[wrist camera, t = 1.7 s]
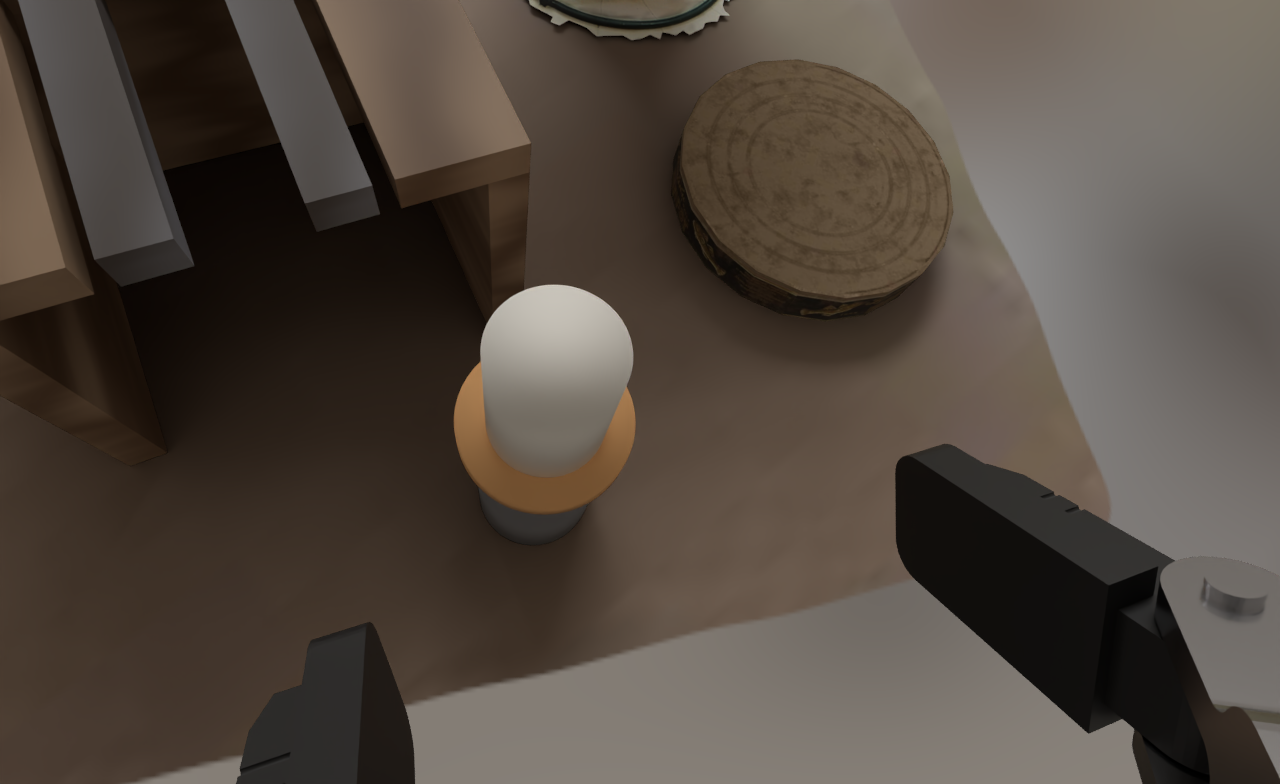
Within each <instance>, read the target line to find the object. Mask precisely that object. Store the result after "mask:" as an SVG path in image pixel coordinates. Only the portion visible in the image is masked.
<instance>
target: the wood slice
mask: <svg viewBox="0 0 1280 784" xmlns="http://www.w3.org/2000/svg"><path fill="white" fill-rule="evenodd" d="M671 196H672V199H673V203H674V206H675V209H676V213H677V216H678V220H679V223H680V226H681V230H682V232H683V234H684V235H685V237H686V238H687V240H688V241H689V243H690V244H691V246H692V247H693V249H694V250H695V251H696V253H697V254H698V256H699V257H700V259H701V260H702V262H703V263H704V265H705V266H706V267H707V268H708V269H709V270H710V271H711V272H713V273H714V274H715V275H716V276H717V277H719V278H720V279H721V280H722V281H724V282H725V283H726V284H727V285H728V286H730V287H731V288H732V289H733V290H734V291H736V292H737V293H738V294H739V295H740V296H742V297H744V298H747V299H749V300H751V301H753V302H755V303H758V304H760V305H762V306H764V307H767V308H769V309H771V310H773V311H775V312H778V313H780V314H782V315H788V316H794V317H801V318H808V319H814V320H821V321H830V320H836V319H843V318H849V317H856V316H862V315H866V314H868V313H870V312H872V311H873V310H875V309H877V308H879V307H881V306H882V305H884V304H886V303H888V302H890V301H892V300H893V299H895V298H897V297H898V296H899V295H900V294H901V293H902V292H903V291H904V290H905V289H907V288H908V287H909V286H910V285H911V284H912V283H913V282H914V281H915V280H916V279H917V278H918V277H919V276H920V275H921V274H922V273H923V272H924V271H925V270H926V268H927V267H928V266H929V265H930V263H931V262H932V261H933V259H934V258H935V257H936V256H937V254H938V253H939V252H940V251H941V249H942V248H943V247H944V245H945V241H946V238H947V234H948V230H949V227H950V223H951V219H952V216H953V204H952V195H951V186H950V176H949V174H948V172H947V170H946V167H945V165H944V163H943V161H942V158H941V156H940V154H939V152H938V149H937V147H936V145H935V143H934V141H933V140H932V138H931V137H930V136H929V135H928V133H927V132H926V131H925V130H924V129H923V127H922V126H921V125H920V124H919V122H918V121H917V120H916V119H915V117H914V116H913V115H912V114H911V113H910V111H909V110H908V109H906V108H905V107H904V106H903V105H901V104H900V103H899V102H897V101H896V100H895V99H893V98H892V97H891V96H889V95H888V94H887V93H886V92H884V91H883V90H882V89H880V88H879V87H878V86H876V85H875V84H873V83H870V82H868V81H866V80H864V79H862V78H859V77H857V76H855V75H853V74H851V73H849V72H846V71H844V70H842V69H840V68H837V67H832V66H827V65H823V64H818V63H813V62H808V61H803V60H782V61H764V62H758V63H755V64H752V65H750V66H747V67H744V68H741V69H739V70H736V71H733V72H731V73H728V74H726V75H724V76H723V77H722V78H721V79H720V80H719V81H717V82H716V83H715V84H714V85H713V86H712V87H710V88H709V89H708V90H707V91H706V92H705V93H703V94H702V95H701V96H700V97H699V99H698V101H697V103H696V105H695V107H694V109H693V111H692V113H691V115H690V117H689V119H688V121H687V123H686V125H685V127H684V130H683V133H682V136H681V139H680V142H679V145H678V148H677V151H676V154H675V157H674V161H673V175H672V190H671Z"/></svg>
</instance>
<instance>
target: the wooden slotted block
mask: <svg viewBox="0 0 1280 784" xmlns="http://www.w3.org/2000/svg"><path fill="white" fill-rule="evenodd" d="M359 123H365V126H366V128H367V130H368V133H369V135H370V137H371V139H372V142H373V144H374V146H375V149H376V151H377V153H378V156H379V158H380V160H381V162H382V165H383V167H384V169H385V172H386V174H387V176H388V179H389V181H390V183H391V186H392V188H393V190H394V192H395V195H396V197H397V199H398V202H399V204H400V206H401V208H404V207H407V206H411V205H415V204H418V203H422V202H425V201H429V200H431V201H432V203H433V205H434V207H435V210H436V212H437V214H438V216H439V218H440V221H441V223H442V225H443V227H444V230H445V232H446V234H447V236H448V238H449V241H450V243H451V245H452V247H453V250H454V252H455V254H456V256H457V259H458V261H459V263H460V265H461V267H462V270H463V272H464V274H465V276H466V279H467V281H468V283H469V285H470V288H471V290H472V292H473V294H474V296H475V299H476V301H477V303H478V305H479V308H480V310H481V312H482V314H483V316H484V319H485V321H486V323H488V321H489V319H490V318H491V316H492V315H493V313H494V312H495V311H496V310H497V308H498V307H500V306H501V305H502V304H503V303H504V302H505V301H506V300H508V299H509V298H510V297H512V296H514V295H516V294H517V293H519V292H521V291H524V274H525V254H526V234H527V215H528V195H529V175H530V155H531V142H530V140H529V138H528V136H527V134H526V132H525V130H524V128H523V126H522V124H521V122H520V120H519V118H518V116H517V114H516V112H515V110H514V108H513V106H512V104H511V102H510V100H509V98H508V96H507V94H506V92H505V90H504V88H503V86H502V85H501V83H500V81H499V79H498V77H497V75H496V73H495V71H494V69H493V67H492V65H491V63H490V61H489V59H488V57H487V55H486V53H485V51H484V49H483V47H482V45H481V43H480V41H479V39H478V37H477V35H476V33H475V31H474V29H473V27H472V25H471V23H470V21H469V19H468V17H467V15H466V13H465V11H464V9H463V7H462V5H461V3H460V1H459V0H0V396H2V397H4V398H5V399H7V400H9V401H11V402H13V403H15V404H17V405H18V406H20V407H22V408H24V409H26V410H28V411H29V412H31V413H33V414H35V415H37V416H39V417H40V418H42V419H44V420H46V421H48V422H50V423H52V424H53V425H55V426H57V427H59V428H61V429H63V430H64V431H66V432H68V433H70V434H72V435H74V436H75V437H77V438H79V439H81V440H83V441H85V442H87V443H88V444H90V445H92V446H94V447H96V448H98V449H99V450H101V451H103V452H105V453H107V454H109V455H111V456H112V457H114V458H116V459H118V460H120V461H122V462H123V463H125V464H127V465H129V466H132V465H134V464H137V463H140V462H143V461H146V460H149V459H152V458H154V457H157V456H160V455H163V454H166V453H168V452H167V449H166V445H165V442H164V439H163V435H162V432H161V429H160V425H159V422H158V419H157V415H156V412H155V409H154V405H153V402H152V399H151V395H150V392H149V389H148V385H147V382H146V379H145V375H144V372H143V369H142V365H141V362H140V359H139V355H138V352H137V349H136V345H135V342H134V339H133V335H132V332H131V329H130V325H129V322H128V319H127V315H126V312H125V309H124V305H123V302H122V299H121V295H120V292H119V289H118V285H117V283H118V284H119V285H120V286H121V287H122V286H125V285H129V284H132V283H136V282H140V281H143V280H147V279H150V278H154V277H157V276H161V275H165V274H168V273H172V272H175V271H179V270H182V269H186V268H190V267H193V266H194V263H193V260H192V257H191V254H190V251H189V248H188V245H187V242H186V239H185V236H184V233H183V230H182V227H181V224H180V221H179V218H178V215H177V212H176V209H175V206H174V203H173V200H172V197H171V194H170V191H169V188H168V185H167V182H166V179H165V176H164V173H163V170H168V169H172V168H176V167H180V166H184V165H188V164H193V163H197V162H201V161H205V160H209V159H213V158H218V157H222V156H226V155H230V154H234V153H238V152H243V151H247V150H251V149H255V148H259V147H263V146H268V145H272V144H276V143H280V142H281V144H282V147H283V149H284V152H285V154H286V157H287V159H288V162H289V164H290V167H291V169H292V172H293V175H294V177H295V180H296V182H297V185H298V187H299V190H300V192H301V195H302V197H303V200H304V203H305V205H306V207H307V210H308V212H309V214H310V217H311V219H312V221H313V224H314V226H315V228H316V231H317V232H318V231H322V230H325V229H329V228H332V227H336V226H340V225H343V224H347V223H350V222H354V221H357V220H361V219H365V218H368V217H372V216H375V215H379V214H380V212H379V208H378V205H377V201H376V198H375V194H374V190H373V187H372V184H371V182H370V179H369V177H368V174H367V172H366V170H365V167H364V165H363V163H362V160H361V158H360V156H359V153H358V151H357V149H356V146H355V144H354V142H353V139H352V137H351V135H350V132H349V130H348V127H347V126H351V125H355V124H359Z"/></svg>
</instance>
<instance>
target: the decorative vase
mask: <svg viewBox="0 0 1280 784" xmlns="http://www.w3.org/2000/svg"><path fill="white" fill-rule="evenodd" d="M728 1H730V0H728ZM723 2H724V0H529V3H530V5H532V6H533V7H535V8H537V9H539V10H541V11H543V12H545V13H547V14H548V15H550V16H552V17H553V18H552V20H551V22H552V23H554V24H557V25H561V24H563V23H565V22H566V21H568V20H570V21H572V22H574V23H577V24H579V25H582V26H584V27H586V28H587V29H589V30H590V31H591V32H592V33H593V34H594V35H596V36H620V35H623V36H625V37H627V38H628V39H630V40H636V39H641V38H644V37H646V36H649V35H652V36H654V37H656V38H658V39H660V38H661V35H662V32H663V33H669V34H672V35H675V36H676V35H677V34H679V33H680V32H682V31H684V32H686V33H687V34H689V35H690V34H692V33H694V32H696V31H698V30H701V29H703V28H704V25H705V23H707V22H718V19H719V16H720V15H729V14H728V13H727V12H726V11H725V10H724V8H723Z"/></svg>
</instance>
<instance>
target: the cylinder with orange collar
mask: <svg viewBox="0 0 1280 784" xmlns="http://www.w3.org/2000/svg"><path fill="white" fill-rule="evenodd" d="M480 355H481V361H480V362H479V363H478V364H477V365H476V366H475V367H474V369H473V370H472V371H471V373H470V374H469V375H468V377H467V378H466V380H465V382H464V384H463V385H462V387H461V390H460V392H459V395H458V398H457V402H456V406H455V412H454V432H455V437H456V443H457V448H458V452H459V455H460V458H461V461H462V463H463V465H464V467H465V469H466V471H467V473H468V474H469V476H470V477H471V478H472V480H473V481H474V482H475V484H476V485H477V486H478V490H479V497H480V503H481V507H482V510H483V513H484V515H485V517H486V519H487V520H488V522H489V523H490V525H491V526H492V527H493V528H494V529H495V530H496V531H497V532H498V533H499V534H501V535H502V536H504V537H505V538H507V539H509V540H511V541H513V542H516V543H520V544H525V545H541V544H546V543H550V542H552V541H555V540H557V539H559V538H561V537H563V536H564V535H566V534H567V533H568V532H569V531H570V530H571V529H573V528H574V526H575V525H576V524H577V523H578V521H579V520H580V518H581V516H582V514H583V513H584V511H585V509H586V507H587V505H588V503H589V502H591V501H593V500H594V499H596V498H597V497H598V496H600V495H601V494H602V493H603V492H604V491H605V490H606V489H608V488H609V487H610V485H611V484H612V483H613V482H614V480H615V479H616V478H617V476H618V475H619V473H620V471H621V470H622V468H623V466H624V465H625V463H626V461H627V459H628V457H629V454H630V452H631V449H632V445H633V442H634V436H635V411H634V406H633V402H632V398H631V396H630V393H629V391H628V388H627V384H628V381H629V379H630V376H631V372H632V367H633V347H632V342H631V338H630V335H629V333H628V330H627V328H626V326H625V324H624V323H623V321H622V319H621V318H620V317H619V315H618V314H617V313H616V312H615V311H614V310H613V309H612V308H611V307H610V306H609V305H608V304H607V303H606V302H604V301H603V300H602V299H600V298H599V297H597V296H595V295H594V294H591V293H589V292H587V291H585V290H582V289H579V288H576V287H571V286H566V285H543V286H537V287H533V288H529V289H526V290H524V291H521V292H519V293H517V294H516V295H514V296H512V297H510V298H509V299H508V300H506V301H505V302H504V303H503V304H502V305H501V306H500V307H498V308H497V310H496V311H495V312H494V313H493V315H492V316H491V318H490V319H489V321H488V323H487V325H486V327H485V330H484V332H483V336H482V340H481V348H480Z"/></svg>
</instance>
